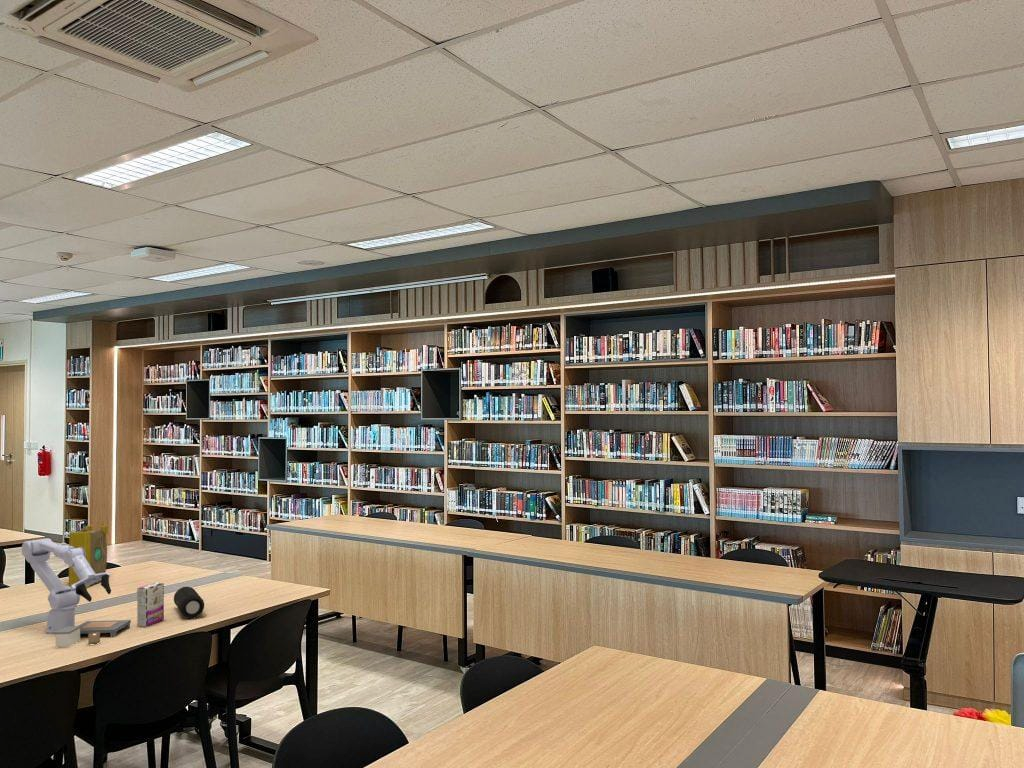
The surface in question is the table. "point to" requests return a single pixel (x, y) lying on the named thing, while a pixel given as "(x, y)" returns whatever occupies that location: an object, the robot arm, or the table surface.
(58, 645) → the housing
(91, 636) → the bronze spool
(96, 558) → the decorative book
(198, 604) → the portable speaker
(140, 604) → the candy bar box
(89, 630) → the stand
